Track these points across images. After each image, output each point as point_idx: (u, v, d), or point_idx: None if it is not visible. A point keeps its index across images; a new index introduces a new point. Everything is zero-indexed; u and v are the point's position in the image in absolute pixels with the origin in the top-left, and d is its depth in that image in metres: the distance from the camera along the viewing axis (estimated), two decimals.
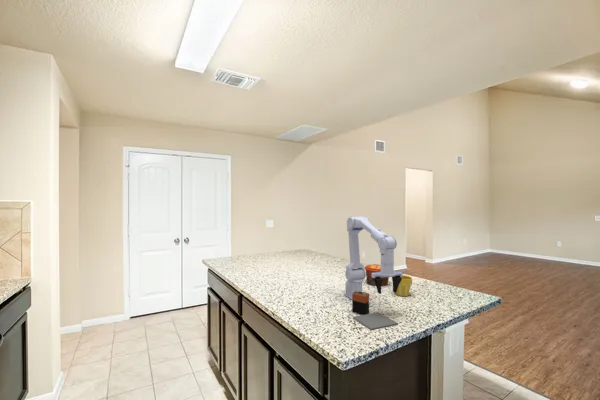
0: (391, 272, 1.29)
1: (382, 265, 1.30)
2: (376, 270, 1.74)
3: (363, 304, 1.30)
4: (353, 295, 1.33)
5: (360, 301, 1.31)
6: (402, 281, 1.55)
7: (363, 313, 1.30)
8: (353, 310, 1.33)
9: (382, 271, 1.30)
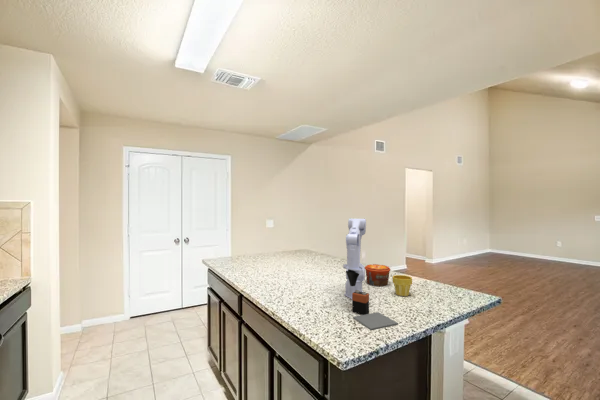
0: (349, 266, 1.39)
1: None
2: (376, 270, 1.74)
3: (363, 304, 1.30)
4: (353, 295, 1.33)
5: (360, 301, 1.31)
6: (402, 281, 1.55)
7: (363, 313, 1.30)
8: (353, 310, 1.33)
9: None
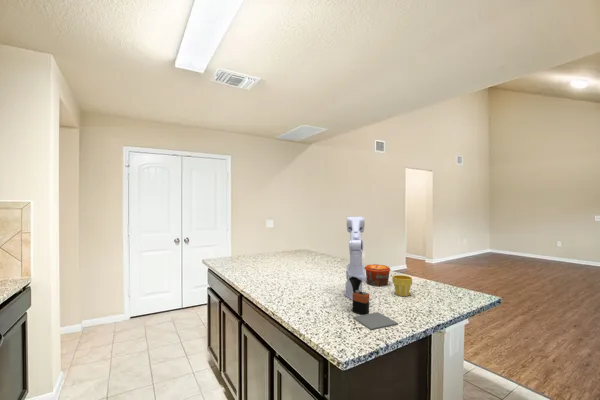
0: (351, 272, 1.35)
1: None
2: (376, 270, 1.74)
3: (363, 304, 1.30)
4: (353, 295, 1.33)
5: (360, 301, 1.31)
6: (402, 281, 1.55)
7: (363, 313, 1.30)
8: (353, 310, 1.33)
9: None
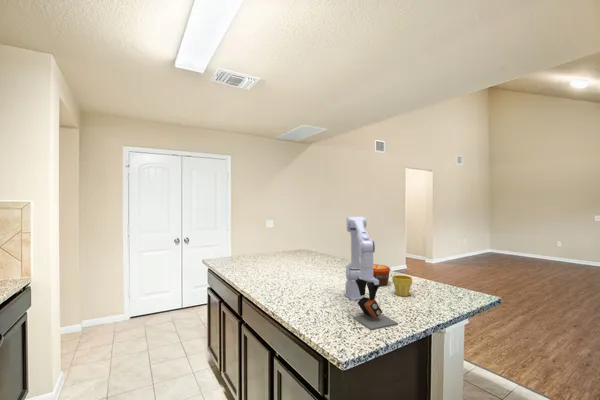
0: (362, 275, 1.27)
1: None
2: (376, 270, 1.74)
3: (369, 314, 1.26)
4: (368, 306, 1.22)
5: (369, 312, 1.25)
6: (402, 281, 1.55)
7: (364, 313, 1.29)
8: (359, 304, 1.29)
9: None
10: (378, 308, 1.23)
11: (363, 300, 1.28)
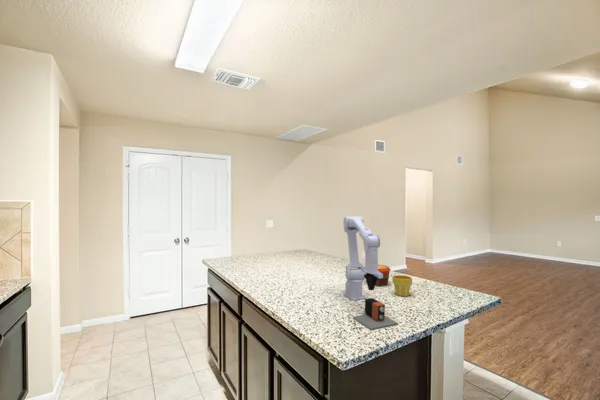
0: (367, 269, 1.33)
1: None
2: None
3: (370, 314, 1.26)
4: (375, 306, 1.23)
5: (372, 312, 1.25)
6: (402, 281, 1.55)
7: (365, 311, 1.29)
8: (366, 301, 1.29)
9: None
10: (383, 313, 1.23)
11: (372, 300, 1.28)
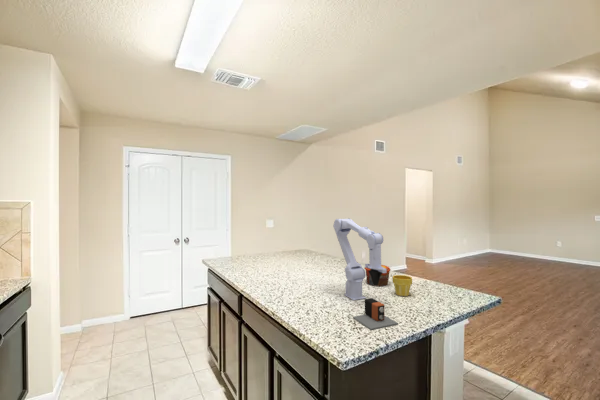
0: (371, 265, 1.41)
1: None
2: None
3: (370, 315, 1.26)
4: (375, 306, 1.23)
5: (372, 313, 1.25)
6: (402, 281, 1.55)
7: (365, 312, 1.29)
8: (365, 301, 1.29)
9: None
10: (383, 313, 1.23)
11: (371, 300, 1.28)
